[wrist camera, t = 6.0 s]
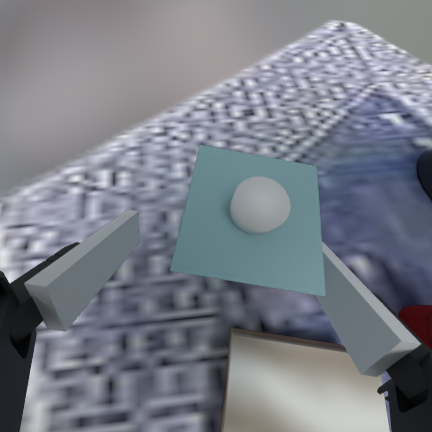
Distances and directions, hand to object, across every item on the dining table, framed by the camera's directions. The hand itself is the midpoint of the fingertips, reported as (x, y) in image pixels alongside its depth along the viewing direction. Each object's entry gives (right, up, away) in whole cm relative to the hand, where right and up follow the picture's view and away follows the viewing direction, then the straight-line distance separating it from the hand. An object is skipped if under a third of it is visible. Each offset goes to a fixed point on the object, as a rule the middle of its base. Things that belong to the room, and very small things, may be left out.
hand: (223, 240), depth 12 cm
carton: (0, -3, +9) cm, 9 cm away
